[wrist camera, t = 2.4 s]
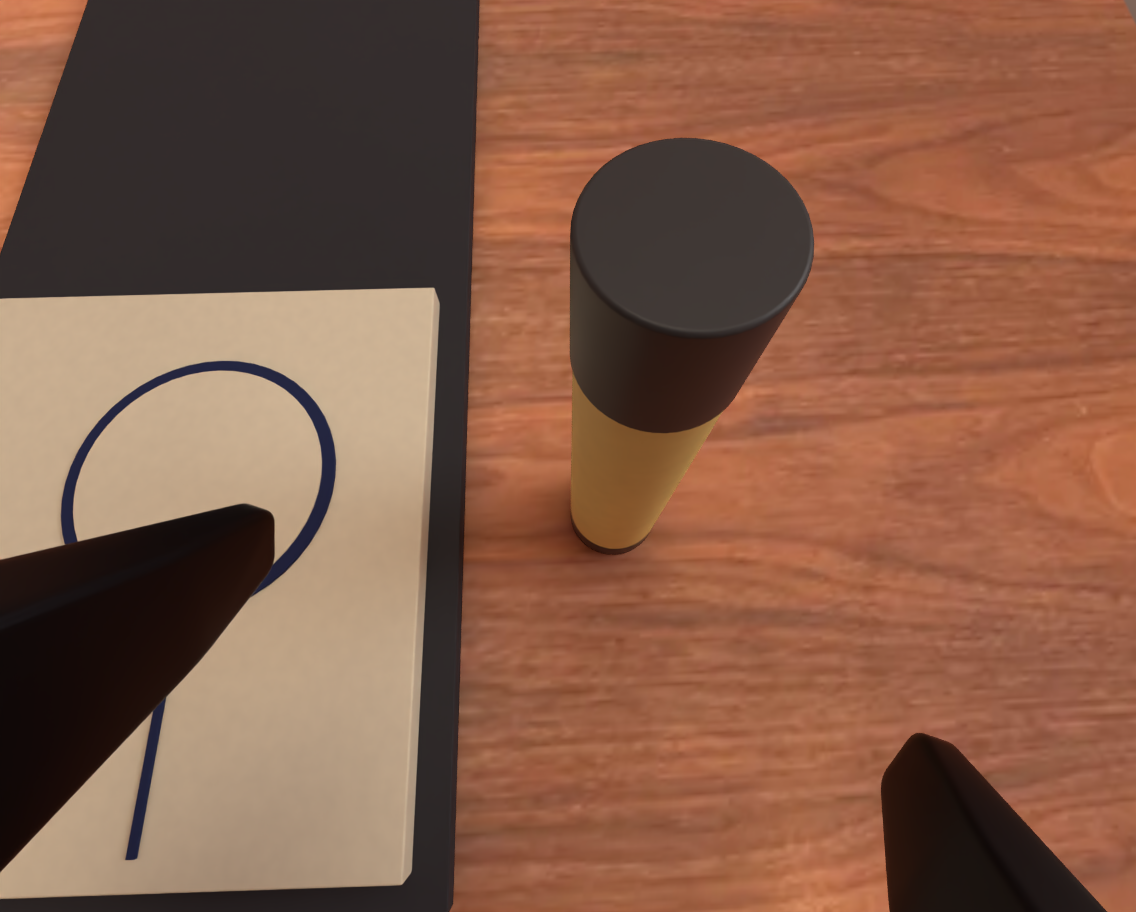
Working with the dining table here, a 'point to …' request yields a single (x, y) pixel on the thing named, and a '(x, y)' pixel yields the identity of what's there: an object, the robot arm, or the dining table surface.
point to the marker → (669, 317)
